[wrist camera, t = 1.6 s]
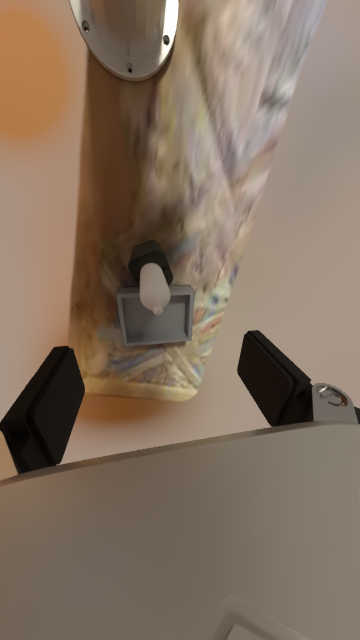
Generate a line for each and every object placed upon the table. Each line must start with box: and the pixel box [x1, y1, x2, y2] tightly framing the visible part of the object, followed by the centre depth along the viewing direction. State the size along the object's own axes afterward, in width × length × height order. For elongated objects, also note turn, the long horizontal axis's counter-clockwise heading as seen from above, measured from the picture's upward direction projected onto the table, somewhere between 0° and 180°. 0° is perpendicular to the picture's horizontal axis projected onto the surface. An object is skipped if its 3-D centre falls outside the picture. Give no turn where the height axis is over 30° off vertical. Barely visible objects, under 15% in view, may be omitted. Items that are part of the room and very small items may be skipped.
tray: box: [116, 285, 194, 347], centre depth 41 cm, size 12×15×4 cm
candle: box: [128, 240, 173, 315], centre depth 26 cm, size 5×5×25 cm
